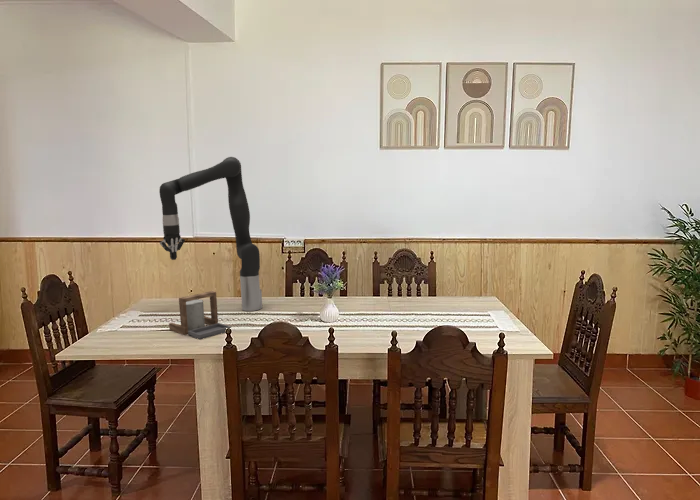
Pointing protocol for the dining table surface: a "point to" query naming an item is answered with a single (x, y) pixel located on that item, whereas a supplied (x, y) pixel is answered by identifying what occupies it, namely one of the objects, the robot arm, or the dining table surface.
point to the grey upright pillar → (195, 314)
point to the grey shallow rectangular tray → (208, 331)
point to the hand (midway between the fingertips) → (173, 259)
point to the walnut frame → (183, 312)
